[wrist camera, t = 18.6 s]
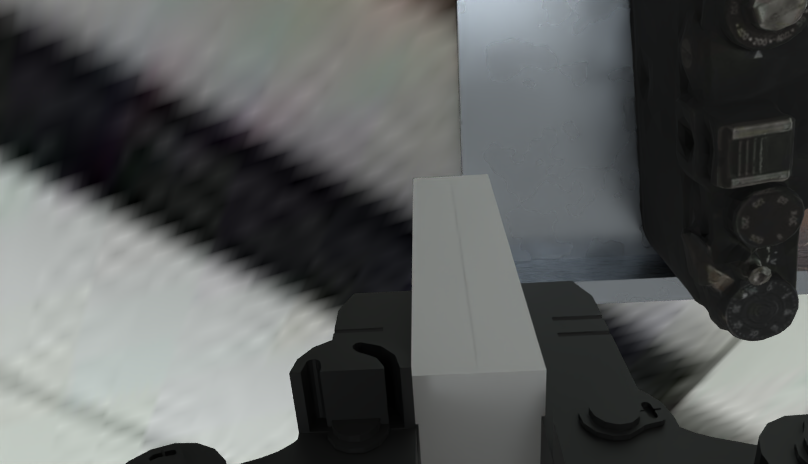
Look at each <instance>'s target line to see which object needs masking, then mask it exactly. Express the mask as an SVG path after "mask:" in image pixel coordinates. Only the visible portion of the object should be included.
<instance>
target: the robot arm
mask: <svg viewBox="0 0 808 464" xmlns="http://www.w3.org/2000/svg"><path fill="white" fill-rule="evenodd" d="M289 375H290V381H291V387H292V393H293V399H294V405H295V411H296V417H297V423H298V429H299V436H298V439H297V440H296V441H295V442H294V443H292V444H291V445H289V446H287V447H285V448H284V449H282V450H280V451H278V452H276V453H273V454H270V455H268V456H265V457H262V458H259V459H256V460H252V461H248V462H245V463H241V464H808V414H806V415H792V416H784V417H781V418H779V419H777V420H774V421H772V422H770V423H768V424H767V425H766V427H765V428H764V430H763V431H762V433H761V434H760V436H759V440H758V445H753V444H747V443H741V442H736V441H730V440H725V439H719V438H714V437H709V436H706V435H702V434H698V433H694V432H691V431H688V430H686V429H684V428H681V427H679V425H678V423H677V421H676V419H675V418H674V416H673V415H672V414H671V413H670V412H669V410H668V409H667V408H666V407H665V406H664V404H663V403H662V402H660V401H658V400H657V399H655V398H654V397H652V396H650V395H649V394H647V393H645V392H644V391H641V390H638V389H637V387H636V385H635V382H634V380H633V378H632V376H631V374H630V372H629V370H628V368H627V366H626V364H625V362H624V360H623V358H622V356H621V354H620V352H619V350H618V348H617V345H616V343H615V341H614V339H613V337H612V335H611V334H609V329H608V327H607V325H606V323H605V321H604V319H602V315H601V313H600V311H599V308H598V306H597V304H596V302H595V300H594V298H593V296H592V295H590V294H589V293H588V292H586V291H585V290H584V289H582V288H581V287H580V286H578V285H577V284H575V283H574V282H573V281H555V282H535V283H520V280H519V277H518V273H517V270H516V267H515V263H514V260H513V257H512V253H511V250H510V246H509V243H508V240H507V236H506V233H505V230H504V226H503V223H502V220H501V216H500V213H499V210H498V206H497V203H496V200H495V196H494V193H493V190H492V186H491V183H490V180H489V176H488V174H482V175H464V176H446V177H428V178H413V243H412V291H399V292H378V293H358V294H354V295H353V296H352V297H351V298H350V299H349V300H348V301H347V302H346V303H345V304H344V305H343V306H342V307H341V308H340V310H339V311H338V315H337V320H336V325H335V334H334V335H333V339H332V340H331V341H329V342H326V343H324V344H321V345H319V346H316V347H313V348H312V349H311V350H309V351H308V352H307V353H305V354H304V355H303V356H301V357H300V358H299V359H297V361H296V363H295V364H294V366H293V368H292V369H291V371H290V373H289ZM126 464H226V460H225V459H224V458H223V457H222V456H221V455H220V454H219V453H218V452H217V451H216V450H215V449H213V448H210V447H207V446H204V445H201V444H198V443H174V444H170V445H167V446H163V447H159V448H155V449H152V450H149V451H147V452H146V453H144V454H142V455H140V456H138V457H136V458H134V459H132V460H130V461H128V462H127V463H126Z"/></svg>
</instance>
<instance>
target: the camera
mask: <svg viewBox="0 0 808 464" xmlns="http://www.w3.org/2000/svg"><path fill="white" fill-rule="evenodd" d="M630 6H631V10H630V26H631V39H632V51H633V72H634V89H635V113H636V122H637V154H638V167H639V178H640V189H639V193H640V212H641V218H642V226H643V231H644V234H645V235H646V237H647V240H648V242H649V243H650V245H651V246H652V247H653V248H654V250H655V251H656V252H657V253H658V254H659V255H660V257H661V258H662V259H663V260H664V261H665V263H666V264H667V265H668V267H669V268H670V269H671V271H672V272H673V273H674V274H675V276H676V277H677V278H678V279H679V280H680V282H681V283H682V284H683V285H684V287H685V288H686V289H687V290H688V292H689V293H690V294H691V296H692V297H693V298H694V300H695V301H696V302H698V303H699V304H701V305H703V306H704V307H705V308H706V309H707V311H708V312H709V315H710V318H711V320H712V321H713V322H714V323H715V324H716V325H717V326H718V327H719V328H720V329H724V330H728V331H729V332H730V333H731V334H732V335H733V336H735V337H737V338H739V339H742V340H748V341H758V340H764V339H766V338H769V337H772V336H774V335H777V334H779V333H781V332H782V331H784V330H785V329H786V328H787V327H788V326H790V325H791V323H792V321H793V319H794V317H795V315H796V312H797V310H798V303H799V299H798V295H797V291H796V283H797V260H798V241H799V229H800V226H801V223H802V220H803V218H804V211H805V210H806V209H808V0H630Z"/></svg>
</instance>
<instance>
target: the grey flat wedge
mask: <svg viewBox="0 0 808 464" xmlns="http://www.w3.org/2000/svg"><path fill="white" fill-rule="evenodd" d="M630 10H631V6H630V0H456V13H457V43H458V73H459V104H460V134H461V165H462V176H464V175H482V174H488V176H489V180H490V183H491V186H492V190H493V193H494V196H495V200H496V203H497V206H498V210H499V213H500V216H501V220H502V223H503V226H504V230H505V233H506V236H507V240H508V243H509V246H510V250H511V253H512V257H513V260H514V263H515V267H516V270H517V273H518V277H519V280H520V283H535V282H555V281H573V282H574V283H575V284H577V285H578V286H580V287H581V288H582V289H584V290H585V291H586V292H588V293H589V294H590V295H592V296H593V298H594V300H595V302H596V304H601V303H623V302H645V301H667V300H688V299H694V298H693V297H692V296H691V294H690V293H689V292H688V290H687V289H686V288H685V287H684V285H683V284H682V283H681V282H680V280H679V279H678V278H677V277H676V276H675V274H674V273H673V272H672V271H671V269H670V268H669V267H668V265H667V264H666V263H665V261H664V260H663V259H662V258H661V257H660V255H659V254H658V253H657V252H656V251H655V250H654V248H653V247H652V246H651V245H650V243H649V242H648V240H647V237H646V235H645V234H644V231H643V226H642V218H641V212H640V193H639V189H640V178H639V167H638V154H637V122H636V113H635V89H634V72H633V51H632V39H631V26H630ZM796 291H797V294H808V209H806V210H805V211H804V218H803V220H802V223H801V226H800V229H799V241H798V260H797V283H796Z"/></svg>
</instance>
